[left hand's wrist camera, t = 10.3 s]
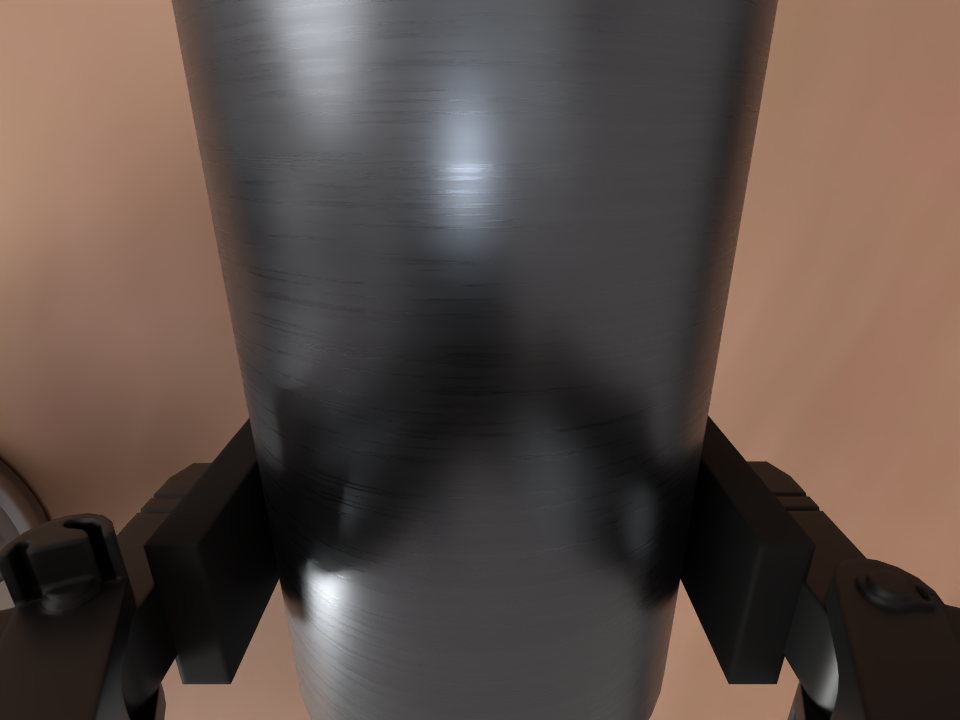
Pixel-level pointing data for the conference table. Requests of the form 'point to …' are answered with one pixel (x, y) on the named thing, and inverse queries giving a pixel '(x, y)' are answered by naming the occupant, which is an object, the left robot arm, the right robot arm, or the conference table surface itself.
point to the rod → (477, 327)
